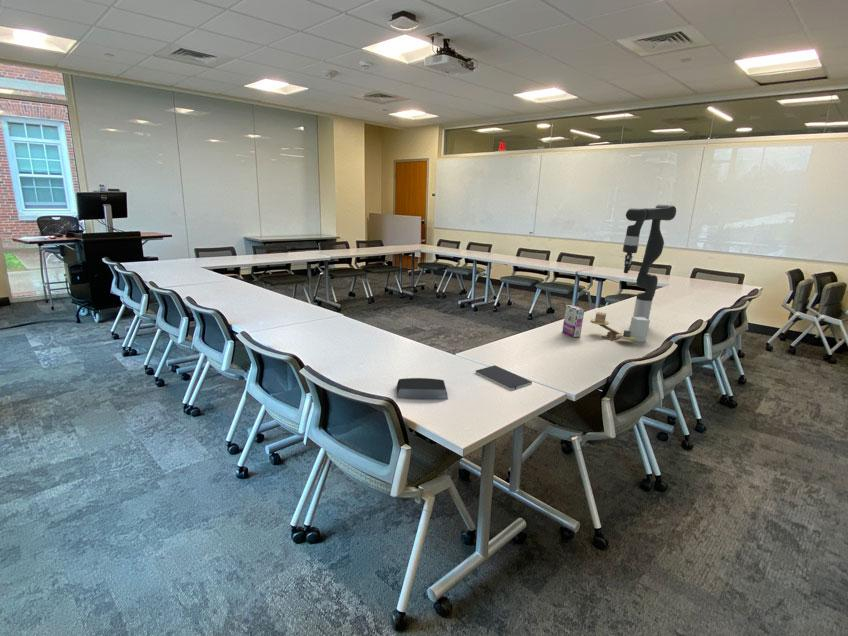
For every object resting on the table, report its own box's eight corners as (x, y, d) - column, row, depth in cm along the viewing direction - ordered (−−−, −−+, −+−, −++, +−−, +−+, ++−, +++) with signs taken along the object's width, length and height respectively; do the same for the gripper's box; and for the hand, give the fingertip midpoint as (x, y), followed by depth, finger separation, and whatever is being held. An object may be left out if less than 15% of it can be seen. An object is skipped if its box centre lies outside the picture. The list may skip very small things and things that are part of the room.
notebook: (531, 385, 189) (494, 368, 205) (532, 381, 188) (494, 365, 204) (511, 391, 181) (474, 373, 197) (511, 388, 181) (474, 370, 197)
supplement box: (646, 342, 254) (650, 320, 251) (633, 341, 254) (637, 319, 251) (640, 337, 261) (644, 317, 258) (627, 337, 261) (631, 316, 258)
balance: (585, 332, 266) (587, 320, 264) (595, 330, 272) (597, 318, 270) (628, 346, 245) (631, 333, 243) (638, 343, 250) (641, 330, 248)
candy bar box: (580, 337, 256) (585, 309, 252) (573, 337, 254) (577, 309, 250) (569, 331, 266) (573, 304, 262) (561, 331, 265) (565, 304, 260)
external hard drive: (448, 401, 170) (448, 391, 169) (396, 400, 168) (397, 390, 167) (444, 386, 182) (445, 377, 181) (396, 385, 181) (397, 376, 180)
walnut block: (596, 319, 266) (597, 311, 265) (604, 321, 264) (606, 313, 263) (594, 321, 262) (596, 313, 261) (603, 323, 260) (605, 314, 258)
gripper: (624, 242, 265) (620, 269, 269) (623, 244, 253) (618, 273, 257) (638, 243, 262) (633, 271, 266) (637, 245, 250) (632, 274, 254)
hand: (626, 272), depth 262 cm, fingers open, 8 cm apart
